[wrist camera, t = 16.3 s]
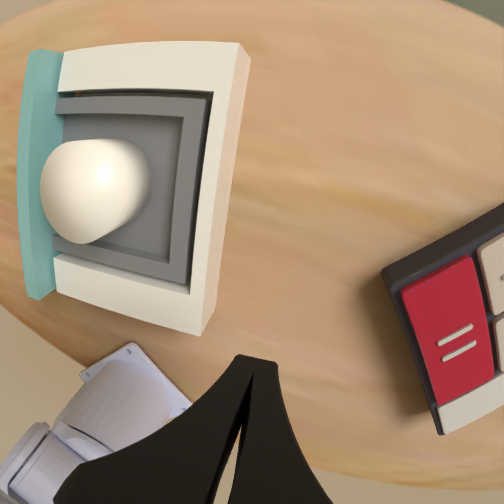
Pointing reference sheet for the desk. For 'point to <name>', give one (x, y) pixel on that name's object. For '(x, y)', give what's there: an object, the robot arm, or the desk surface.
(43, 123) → the tray
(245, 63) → the dock
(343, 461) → the desk surface
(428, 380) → the calculator
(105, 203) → the white dome-topped cylinder
